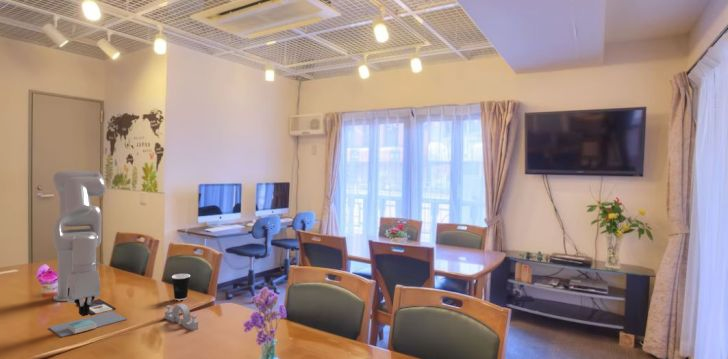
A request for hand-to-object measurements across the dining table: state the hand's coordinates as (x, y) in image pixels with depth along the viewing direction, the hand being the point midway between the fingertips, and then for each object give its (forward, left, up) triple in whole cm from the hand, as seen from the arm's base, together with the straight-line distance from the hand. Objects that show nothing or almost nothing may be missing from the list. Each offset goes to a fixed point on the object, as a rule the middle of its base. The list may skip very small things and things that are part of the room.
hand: (84, 314), depth 156 cm
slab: (0, -2, -3) cm, 4 cm away
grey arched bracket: (+25, +24, -5) cm, 35 cm away
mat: (-1, +2, -4) cm, 5 cm away
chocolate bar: (-19, +11, -5) cm, 23 cm away
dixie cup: (-2, +40, -4) cm, 40 cm away
